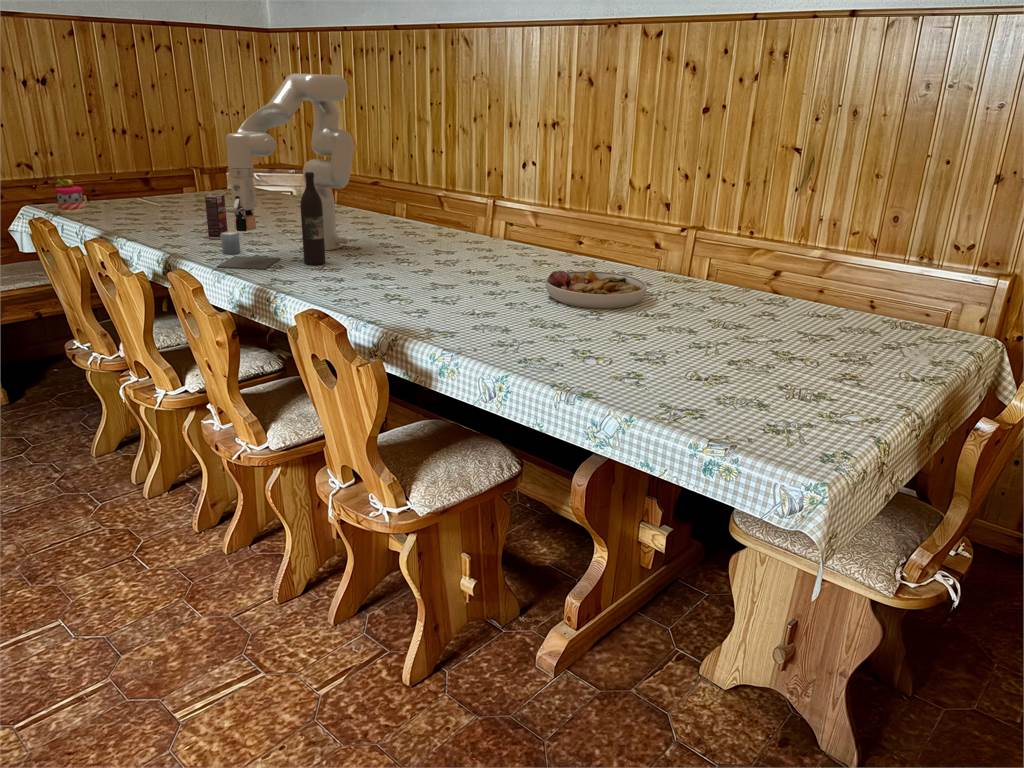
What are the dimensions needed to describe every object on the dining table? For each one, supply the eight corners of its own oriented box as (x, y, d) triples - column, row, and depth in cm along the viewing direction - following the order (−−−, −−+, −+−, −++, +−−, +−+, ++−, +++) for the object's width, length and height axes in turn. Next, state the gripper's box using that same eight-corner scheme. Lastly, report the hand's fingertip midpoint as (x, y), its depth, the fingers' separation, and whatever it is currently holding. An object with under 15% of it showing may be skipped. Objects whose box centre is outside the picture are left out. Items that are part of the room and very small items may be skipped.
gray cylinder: (243, 251, 282) (241, 231, 279) (236, 254, 276) (235, 234, 274) (226, 250, 282) (224, 231, 279) (220, 254, 276) (217, 234, 274)
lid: (258, 227, 262) (257, 215, 261) (252, 230, 256) (251, 218, 255) (239, 226, 263) (238, 214, 261) (232, 229, 256) (230, 217, 255)
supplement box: (220, 239, 301) (216, 197, 295) (208, 239, 301) (203, 196, 295) (229, 235, 309) (224, 194, 303) (216, 235, 309) (212, 193, 303)
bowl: (635, 287, 250) (637, 262, 247) (654, 313, 222) (657, 286, 219) (541, 285, 249) (542, 260, 246) (548, 311, 221) (550, 283, 218)
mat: (280, 259, 271) (280, 257, 271) (265, 269, 256) (265, 267, 256) (234, 257, 272) (234, 256, 271) (216, 267, 257) (216, 266, 256)
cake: (61, 211, 349) (55, 177, 343) (88, 211, 352) (82, 176, 346) (56, 215, 339) (50, 179, 334) (83, 215, 342) (78, 179, 337)
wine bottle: (304, 265, 263) (298, 173, 252) (303, 261, 269) (297, 171, 259) (326, 265, 265) (321, 173, 254) (325, 260, 271) (319, 171, 261)
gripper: (243, 176, 245) (247, 234, 251) (261, 171, 261) (265, 225, 268) (219, 175, 245) (224, 233, 251) (239, 170, 262) (243, 224, 268)
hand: (245, 228), depth 259 cm, fingers closed on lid, 6 cm apart
